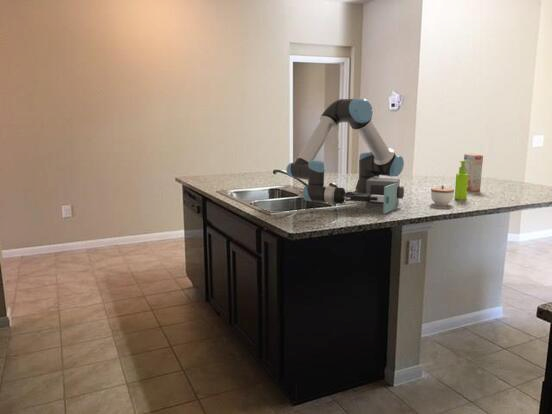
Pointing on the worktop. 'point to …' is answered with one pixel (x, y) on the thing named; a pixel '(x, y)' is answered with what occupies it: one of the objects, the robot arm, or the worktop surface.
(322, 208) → the worktop surface
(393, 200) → the side door
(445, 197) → the lidded jar
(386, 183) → the small grey cabinet
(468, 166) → the cracker box
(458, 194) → the soap dispenser
